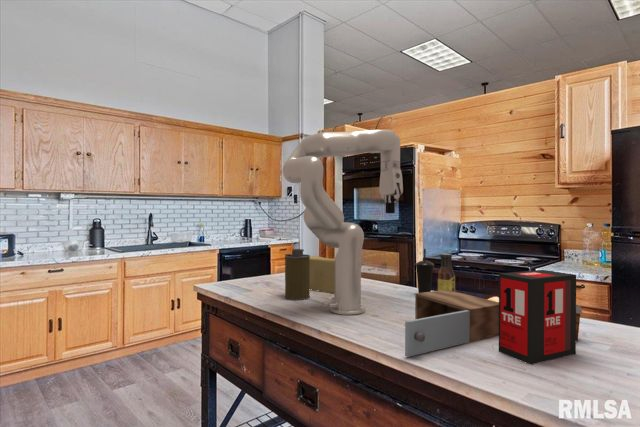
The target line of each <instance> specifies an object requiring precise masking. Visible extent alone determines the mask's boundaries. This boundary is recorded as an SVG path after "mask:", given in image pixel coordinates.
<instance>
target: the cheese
mask: <svg viewBox="0 0 640 427" xmlns="http://www.w3.org/2000/svg"><path fill="white" fill-rule="evenodd" d="M334 262H335V258H327V257H322V256H318V255H313V256H312V255H310V281H309V289H312V290H311V291H315V290H319V291H318V292H322V291H325V292H324V293H328V292H331V293H330V294H334V271H335V267H334Z"/></svg>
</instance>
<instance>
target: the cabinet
mask: <svg viewBox="0 0 640 427" xmlns="http://www.w3.org/2000/svg"><path fill="white" fill-rule="evenodd" d="M414 298H415V300H414V301H415V304H414V305H415V306H414V307H415V308H414V314H415V316H414V318H415V319H420V318H426V317H431V316H437V315H442V314H448V313H453V312H459V311H464V310H468V311H470V326H469V342H468V343H473V342H477V341H482V340H486V339H491V338H496V337H499V301H498V302H497V301H496V300H495V301H494V300H491V299H488V298H487V299H486V298H483V297H479V296H473V295H470V294H466V293H462V292H459V291H455V292H454V291H450V290H440V291H438V290H433V291H432V290H431V292H424V293H418V292H417V293H415V297H414ZM415 319H414V320H415Z"/></svg>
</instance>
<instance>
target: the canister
mask: <svg viewBox="0 0 640 427" xmlns="http://www.w3.org/2000/svg"><path fill="white" fill-rule="evenodd" d="M304 251H305V250H304V249H303V248H293V249H292V253H285V254H284V281H285V283H284V288H285V290H284V292H285V293H284V295H285V296H284V299H286V300H290V301H304V299H305V300H309V299H310V297H311V296H310V290H309V281H310V257H311V255H310V254H304ZM308 298H309V299H308Z"/></svg>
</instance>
